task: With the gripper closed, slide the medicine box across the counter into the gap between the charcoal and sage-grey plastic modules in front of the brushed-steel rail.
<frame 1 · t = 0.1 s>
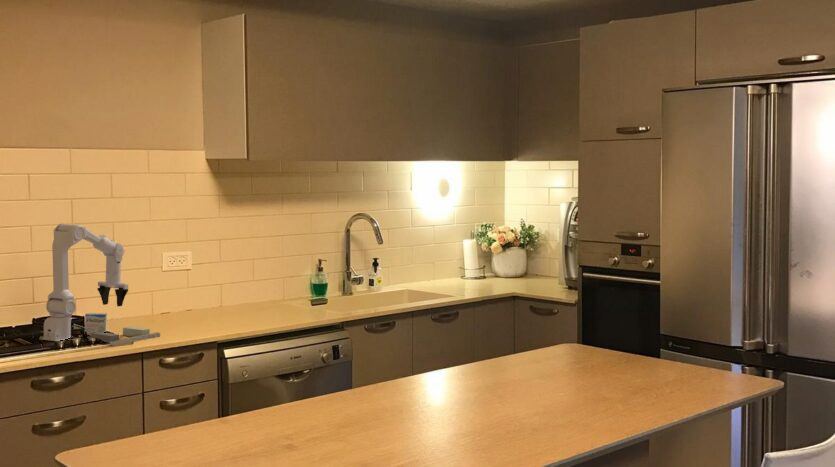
hand: (112, 305, 374), 10 cm above the countertop, tool pointing down, fingers open, 7 cm apart
medicine box: (95, 335, 360), on the countertop
mounted modules: (120, 338, 355), on the countertop
din rail: (135, 338, 351), on the countertop
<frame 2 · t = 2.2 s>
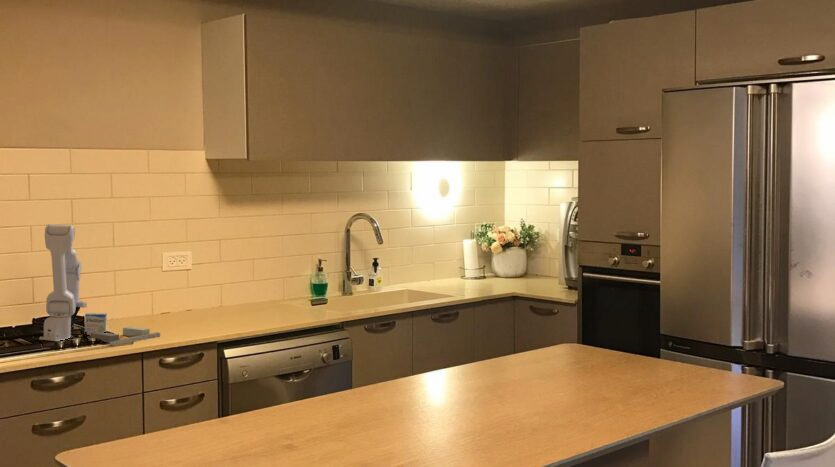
hand: (70, 323, 365), 3 cm above the countertop, tool pointing down, fingers closed
nothing on the countertop moved.
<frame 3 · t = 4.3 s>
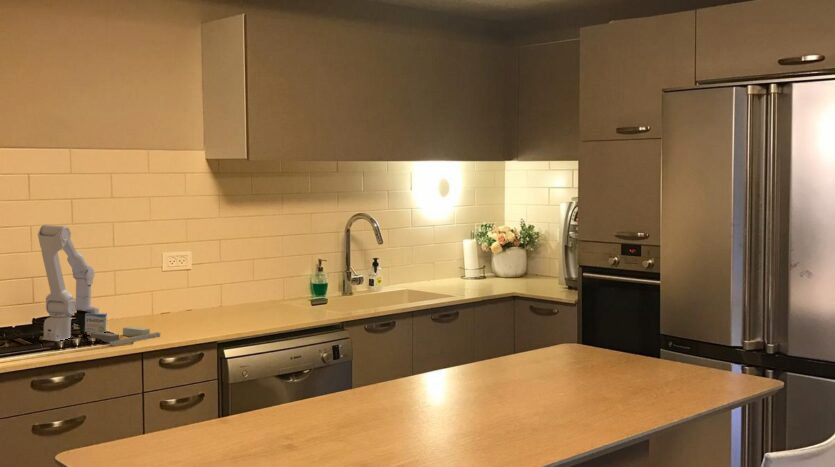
hand: (82, 329, 363), 1 cm above the countertop, tool pointing down, fingers closed
medicine box: (95, 335, 360), on the countertop, touching gripper
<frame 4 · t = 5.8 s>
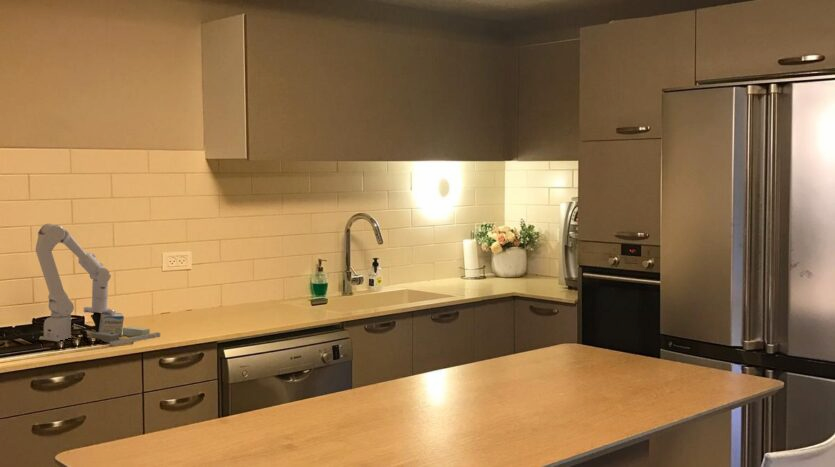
hand: (98, 332, 359), 1 cm above the countertop, tool pointing down, fingers closed
medicine box: (110, 335, 359), on the countertop, touching gripper
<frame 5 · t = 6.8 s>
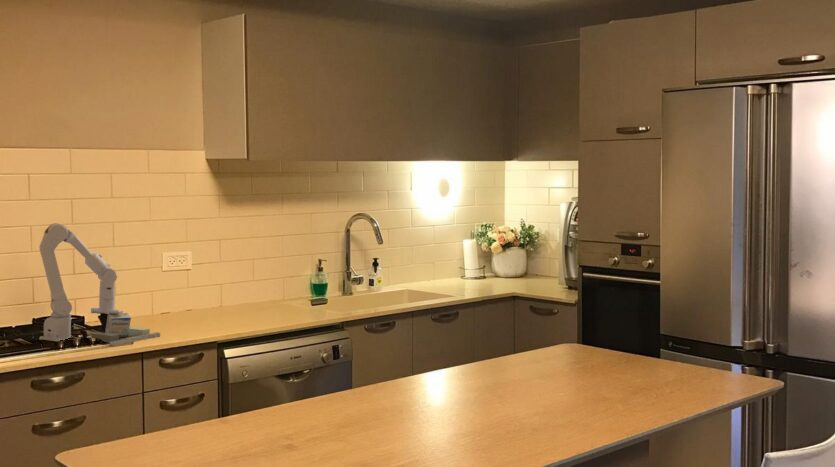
hand: (106, 333, 358), 1 cm above the countertop, tool pointing down, fingers closed
medicine box: (116, 335, 357), point 1 cm above the countertop, touching gripper
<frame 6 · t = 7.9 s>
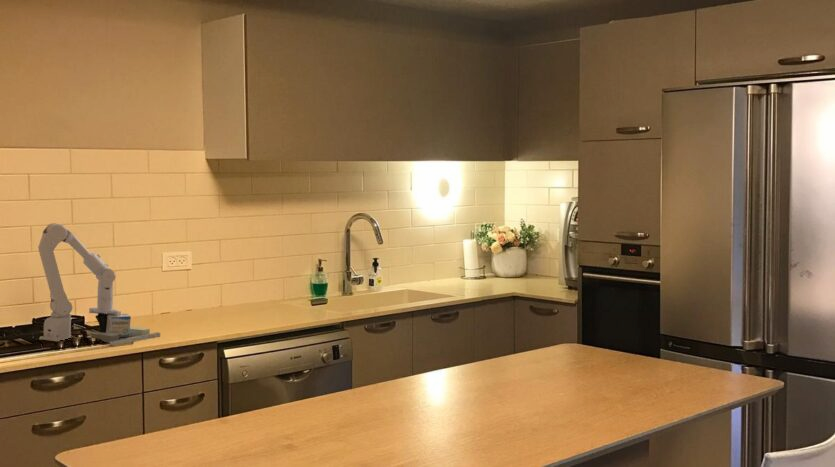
hand: (104, 332, 358), 1 cm above the countertop, tool pointing down, fingers closed
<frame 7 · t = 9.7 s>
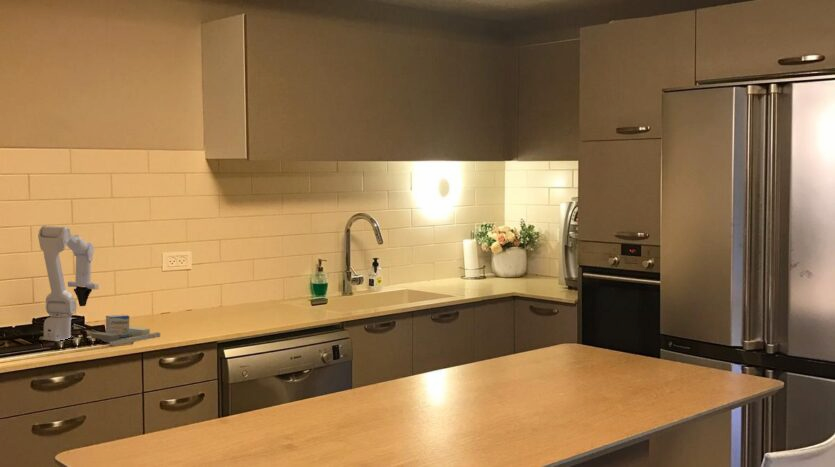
hand: (82, 305, 366), 10 cm above the countertop, tool pointing down, fingers closed
medicine box: (117, 337, 357), on the countertop
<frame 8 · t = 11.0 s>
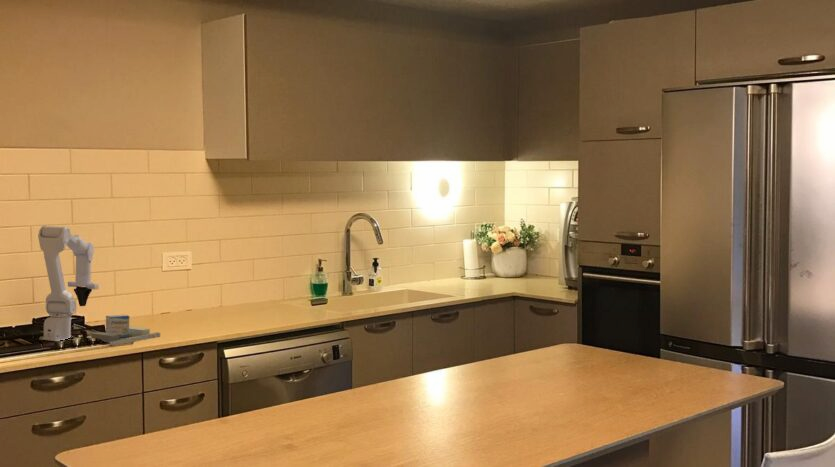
hand: (82, 305, 366), 10 cm above the countertop, tool pointing down, fingers closed
nothing on the countertop moved.
at the end: medicine box inside the target area on the mounted modules (3.5 cm from its centre), point 0.0 cm above the mounted modules's base; medicine box tilted 0°; medicine box moved 10.0 cm from its start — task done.
